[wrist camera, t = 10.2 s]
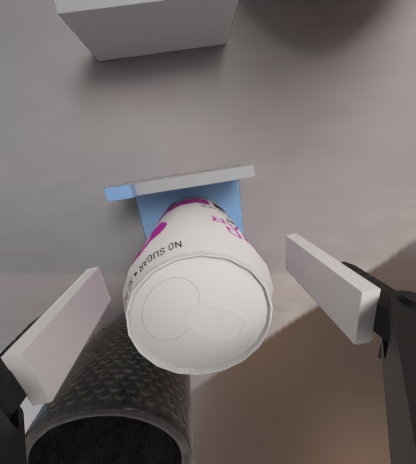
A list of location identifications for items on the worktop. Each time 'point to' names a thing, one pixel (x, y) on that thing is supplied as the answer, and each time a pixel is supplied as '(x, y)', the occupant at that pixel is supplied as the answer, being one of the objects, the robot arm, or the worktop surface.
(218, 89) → the worktop surface
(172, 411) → the planter
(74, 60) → the worktop surface
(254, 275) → the supplement can
